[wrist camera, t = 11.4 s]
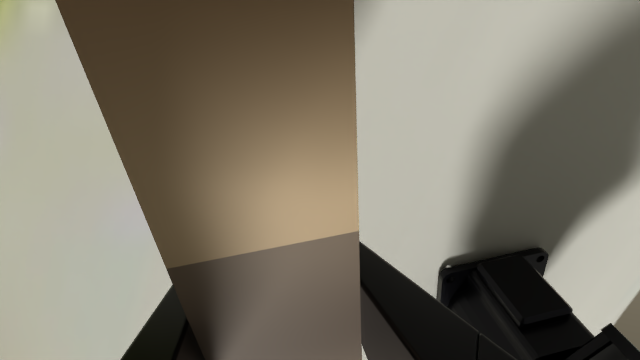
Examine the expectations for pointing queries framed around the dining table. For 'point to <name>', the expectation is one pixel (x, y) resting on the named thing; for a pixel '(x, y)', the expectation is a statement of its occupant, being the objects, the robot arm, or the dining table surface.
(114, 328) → the dining table surface
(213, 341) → the tan wooden plank
